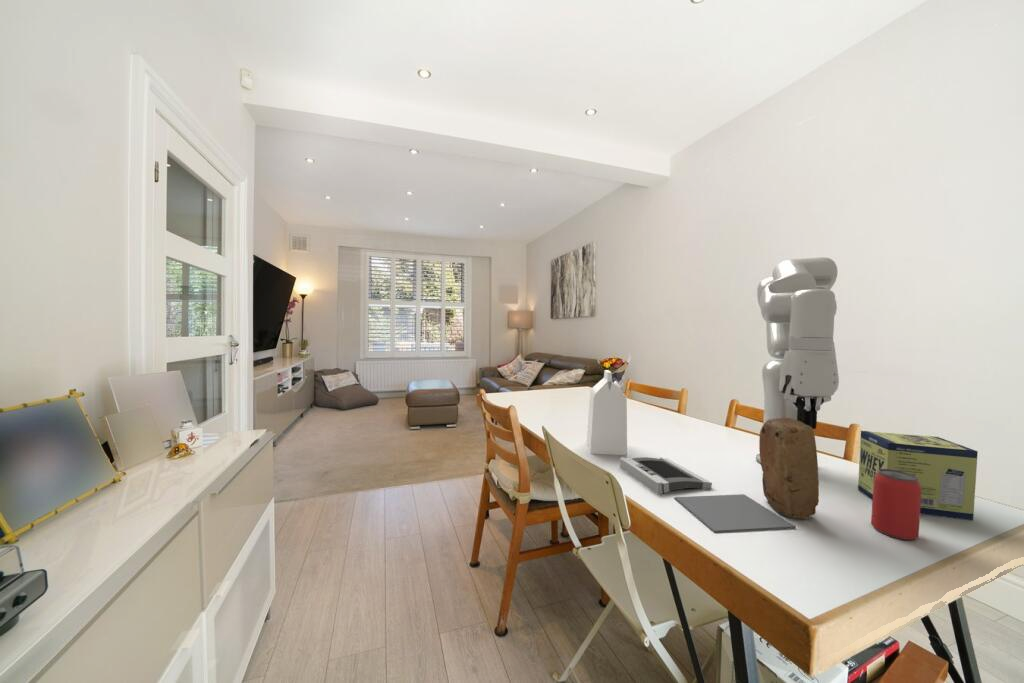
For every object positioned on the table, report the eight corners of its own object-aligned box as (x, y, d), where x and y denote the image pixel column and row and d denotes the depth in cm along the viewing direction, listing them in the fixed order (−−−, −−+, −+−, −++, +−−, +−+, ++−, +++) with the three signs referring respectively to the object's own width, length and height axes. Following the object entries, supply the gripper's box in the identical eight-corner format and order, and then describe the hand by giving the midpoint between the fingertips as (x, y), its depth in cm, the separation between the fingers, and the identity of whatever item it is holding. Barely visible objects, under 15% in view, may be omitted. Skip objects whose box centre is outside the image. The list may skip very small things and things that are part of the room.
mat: (743, 495, 87) (743, 494, 87) (795, 528, 73) (795, 526, 73) (674, 498, 85) (674, 497, 85) (714, 532, 71) (714, 530, 71)
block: (823, 521, 75) (821, 427, 74) (785, 521, 76) (781, 428, 75) (790, 496, 85) (787, 414, 85) (756, 497, 86) (753, 415, 86)
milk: (586, 441, 127) (588, 368, 126) (619, 443, 126) (621, 369, 125) (590, 453, 115) (592, 373, 114) (627, 455, 114) (629, 374, 113)
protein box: (855, 489, 91) (859, 429, 91) (935, 499, 87) (939, 436, 86) (883, 509, 82) (888, 442, 81) (975, 521, 77) (980, 450, 76)
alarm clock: (619, 457, 103) (668, 449, 107) (620, 473, 104) (668, 464, 108) (657, 483, 87) (713, 472, 91) (658, 501, 87) (713, 489, 91)
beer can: (861, 522, 76) (864, 467, 75) (893, 523, 75) (897, 467, 75) (893, 541, 69) (897, 480, 68) (929, 542, 69) (933, 481, 68)
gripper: (823, 345, 84) (819, 422, 85) (765, 344, 82) (762, 423, 83) (857, 347, 77) (853, 431, 77) (795, 346, 75) (791, 432, 75)
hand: (806, 427), depth 80 cm, fingers closed
